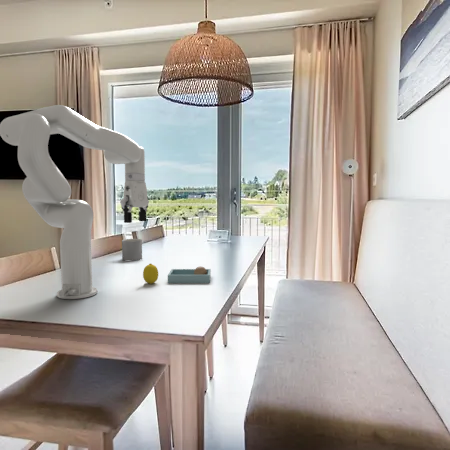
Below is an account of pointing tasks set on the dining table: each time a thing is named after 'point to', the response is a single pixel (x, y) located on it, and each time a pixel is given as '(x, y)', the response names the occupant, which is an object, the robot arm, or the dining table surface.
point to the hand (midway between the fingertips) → (135, 221)
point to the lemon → (150, 274)
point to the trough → (188, 276)
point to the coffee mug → (132, 249)
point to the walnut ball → (200, 271)
